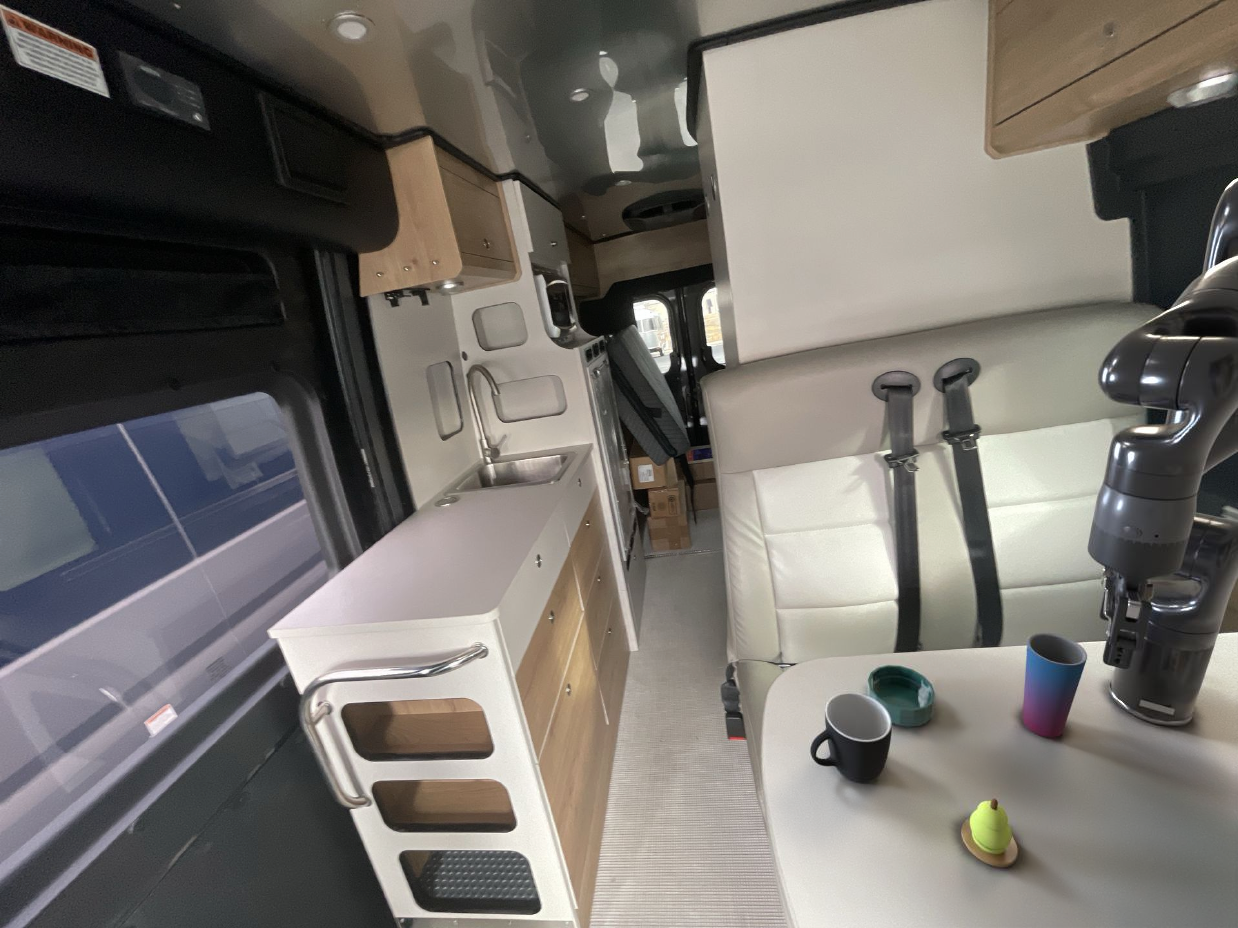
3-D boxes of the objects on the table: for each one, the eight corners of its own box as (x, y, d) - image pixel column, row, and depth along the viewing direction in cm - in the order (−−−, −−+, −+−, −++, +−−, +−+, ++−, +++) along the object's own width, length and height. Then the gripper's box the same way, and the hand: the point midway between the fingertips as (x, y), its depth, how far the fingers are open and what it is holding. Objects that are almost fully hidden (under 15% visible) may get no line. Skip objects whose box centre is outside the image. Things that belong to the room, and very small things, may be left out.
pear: (970, 816, 72) (975, 777, 69) (1010, 833, 69) (1017, 793, 66) (966, 845, 68) (971, 805, 66) (1008, 864, 66) (1015, 823, 63)
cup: (1080, 744, 79) (1098, 665, 74) (1028, 741, 81) (1041, 664, 75) (1055, 707, 85) (1070, 632, 80) (1007, 705, 87) (1018, 632, 81)
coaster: (964, 811, 73) (964, 808, 73) (1018, 834, 69) (1019, 831, 69) (958, 850, 69) (958, 847, 68) (1015, 876, 65) (1016, 873, 65)
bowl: (875, 675, 97) (876, 658, 95) (937, 695, 91) (939, 677, 89) (861, 713, 90) (861, 695, 88) (927, 737, 84) (928, 719, 82)
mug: (865, 733, 86) (866, 685, 82) (903, 781, 78) (906, 731, 74) (796, 753, 85) (795, 706, 81) (828, 805, 76) (827, 755, 73)
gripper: (1202, 565, 50) (1165, 694, 56) (1180, 498, 60) (1150, 614, 66) (1095, 549, 54) (1071, 670, 60) (1091, 489, 64) (1071, 598, 70)
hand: (1112, 641), depth 63 cm, fingers open, 8 cm apart
